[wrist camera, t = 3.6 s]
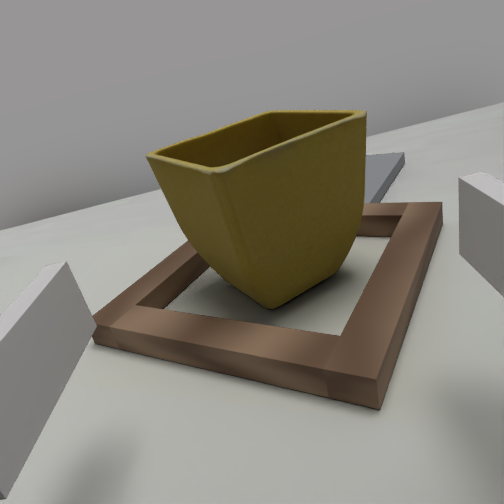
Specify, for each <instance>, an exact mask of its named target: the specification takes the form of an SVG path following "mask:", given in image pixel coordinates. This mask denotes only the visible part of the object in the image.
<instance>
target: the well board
mask: <svg viewBox="0 0 504 504" xmlns="http://www.w3.org/2000/svg"><path fill="white" fill-rule="evenodd" d="M442 224H443V213H442V202H409V203H364V208H363V213H362V218H361V222H360V226H359V229H358V232H357V235H356V236H392V237H391V239H390V241H389V242H388V244H387V246H386V248H385V250H384V252H383V254H382V256H381V258H380V260H379V262H378V264H377V266H376V268H375V270H374V272H373V274H372V275H371V277H370V279H369V281H368V283H367V285H366V287H365V289H364V291H363V293H362V295H361V297H360V299H359V301H358V303H357V305H356V307H355V308H354V310H353V312H352V314H351V316H350V318H349V320H348V322H347V324H346V326H345V328H344V330H343V332H342V334H341V336H337V335H330V334H323V333H317V332H310V331H303V330H297V329H290V328H284V327H277V326H270V325H264V324H257V323H250V322H244V321H237V320H230V319H224V318H217V317H211V316H204V315H197V314H191V313H184V312H177V311H171V310H164V309H163V308H164V307H166V306H167V305H168V304H169V303H170V302H171V301H172V300H173V299H174V298H175V297H176V296H178V295H179V294H180V293H181V292H182V291H183V290H184V289H185V288H186V287H187V286H188V285H189V284H191V283H192V282H193V281H194V280H195V279H196V278H197V277H198V276H199V275H200V274H201V273H202V272H204V271H205V270H206V269H207V268H208V267H209V266H210V265H209V264H208V263H207V262H206V261H205V260H204V259H203V258H202V257H201V256H200V255H199V253H198V252H197V251H196V250H195V249H194V247H193V246H192V245H191V243H190V242H189V240H188V241H187V242H186V243H184V244H183V245H182V246H181V247H179V248H178V249H177V250H176V251H174V252H173V253H172V254H170V255H169V256H168V257H167V258H165V259H164V260H163V261H162V262H160V263H159V264H158V265H156V266H155V267H154V268H153V269H151V270H150V271H149V272H148V273H146V274H145V275H144V276H143V277H141V278H140V279H139V280H137V281H136V282H135V283H134V284H132V285H131V286H130V287H129V288H127V289H126V290H125V291H124V292H122V293H121V294H120V295H118V296H117V297H116V298H115V299H113V300H112V301H111V302H110V303H108V304H107V305H106V306H104V307H103V308H102V309H101V310H99V311H98V312H97V313H96V314H94V315H93V316H92V317H93V319H94V321H95V323H96V325H97V327H96V329H95V331H94V333H93V335H92V338H93V340H94V342H95V343H96V344H100V345H104V346H109V347H113V348H117V349H121V350H126V351H130V352H134V353H139V354H143V355H147V356H152V357H156V358H160V359H164V360H169V361H173V362H177V363H182V364H186V365H190V366H195V367H199V368H203V369H207V370H212V371H216V372H220V373H225V374H229V375H233V376H238V377H242V378H246V379H250V380H255V381H259V382H263V383H268V384H272V385H276V386H281V387H285V388H289V389H293V390H298V391H302V392H306V393H311V394H315V395H319V396H324V397H328V398H332V399H336V400H341V401H345V402H349V403H354V404H358V405H362V406H367V407H371V408H375V409H379V410H380V408H381V405H382V402H383V399H384V396H385V393H386V390H387V387H388V384H389V381H390V378H391V375H392V372H393V370H394V367H395V364H396V361H397V358H398V355H399V352H400V349H401V346H402V343H403V340H404V337H405V334H406V331H407V328H408V325H409V322H410V319H411V316H412V313H413V310H414V307H415V304H416V301H417V298H418V295H419V292H420V290H421V287H422V284H423V281H424V278H425V275H426V272H427V269H428V266H429V263H430V260H431V257H432V254H433V251H434V248H435V245H436V242H437V239H438V236H439V233H440V230H441V227H442Z"/></svg>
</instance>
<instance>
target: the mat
mask: <svg viewBox="0 0 504 504" xmlns="http://www.w3.org/2000/svg"><path fill="white" fill-rule="evenodd" d="M404 163H405V157H404V152H402V153H389V154H376V155H366V167H365V197H364V203H379V202H380V201H381V199H382V198H383V196H384V194H385V193H386V191H387V190H388V188H389V187H390V185H391V184H392V182H393V181H394V179H395V177H396V176H397V174H398V173H399V171H400V170H401V168H402V167H403V165H404Z"/></svg>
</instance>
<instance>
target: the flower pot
mask: <svg viewBox="0 0 504 504" xmlns="http://www.w3.org/2000/svg"><path fill="white" fill-rule="evenodd" d="M366 116H367V113H366V111H357V110H318V111H317V110H275V111H267V112H264V113H261V114H258V115H255V116H252V117H249V118H247V119H244V120H242V121H239V122H236V123H233V124H230V125H227V126H224V127H222V128H220V129H217V130H214V131H211V132H209V133H206V134H203V135H200V136H197V137H193V138H190V139H187V140H184V141H181V142H178V143H175V144H173V145H170V146H167V147H164V148H161V149H159V150H156V151H153V152H151V153H148V154H147V155H146V158H147V160H148V162H149V164H150V166H151V168H152V170H153V172H154V174H155V176H156V179H157V181H158V183H159V185H160V187H161V189H162V191H163V193H164V195H165V197H166V199H167V201H168V204H169V206H170V208H171V210H172V212H173V214H174V216H175V218H176V220H177V222H178V224H179V226H180V228H181V229H182V231H183V233H184V234H185V236H186V237H187V239H188V240H189V242H190V243H191V245H192V246H193V247H194V249H195V250H196V251H197V252H198V253H199V255H200V256H201V257H202V258H203V259H204V260H205V261H206V262H207V263H208V264H209V265H210V266H211V267H212V268H213V269H214V270H215V271H216V272H217V273H218V274H219V275H220V276H221V277H223V278H224V279H225V280H226V281H227V282H228V283H230V284H231V285H233V286H234V287H236V288H237V289H239V290H240V291H242V292H243V293H245V294H246V295H248V296H249V297H250V298H252V299H253V300H255V301H256V302H258V303H259V304H260V305H262V306H263V307H265V308H268V309H274V308H277V307H279V306H281V305H282V304H284V303H286V302H287V301H289V300H291V299H292V298H294V297H296V296H297V295H299V294H301V293H302V292H304V291H306V290H307V289H309V288H311V287H313V286H314V285H316V284H318V283H320V282H321V281H323V280H325V279H326V278H328V277H330V276H331V275H333V274H335V273H336V272H337V271H338V270H339V268H340V267H341V265H342V263H343V262H344V260H345V258H346V256H347V255H348V253H349V251H350V249H351V247H352V245H353V242H354V240H355V237H356V235H357V232H358V229H359V226H360V222H361V218H362V213H363V208H364V197H365V167H366Z"/></svg>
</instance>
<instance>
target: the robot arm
mask: <svg viewBox="0 0 504 504" xmlns="http://www.w3.org/2000/svg"><path fill="white" fill-rule="evenodd" d="M459 254H460V255H461V256H462V257H463V258H464V259H465V260H466V261H467V262H468V263H469V264H470V265H471V266H472V267H473V268H474V269H475V270H477V271H478V272H479V273H480V274H481V275H482V276H483V277H484V278H485V279H486V280H487V281H488V282H489V283H490V284H491V285H492V286H493V287H494V288H495V289H496V290H497V291H498V292H499V293H500V294H501V295H502V296H503V297H504V183H503V182H501V181H500V180H498V179H496V178H494V177H492V176H490V175H488V174H486V173H485V172H481V173H476V174H471V175H467V176H462V177H459ZM96 327H97V325H96V323H95V321H94V319H93V317H92V315H91V312H90V310H89V308H88V306H87V304H86V302H85V300H84V297H83V295H82V293H81V291H80V289H79V287H78V285H77V282H76V280H75V278H74V276H73V274H72V272H71V270H70V268H69V265H68V263H67V261H65V262H61V263H56V264H51V265H47V266H45V267H44V268H43V269H42V270H41V271H40V272H39V273H38V275H37V276H36V277H35V278H34V279H33V280H32V281H31V282H30V283H29V285H28V286H27V287H26V288H25V289H24V290H23V291H22V292H21V293H20V295H19V296H18V297H17V298H16V299H15V300H14V301H13V302H12V303H11V305H10V306H9V307H8V308H7V309H6V310H5V311H4V312H3V313H2V314H1V316H0V500H3V499H6V498H7V496H8V494H9V492H10V491H11V489H12V487H13V485H14V483H15V481H16V479H17V477H18V475H19V473H20V472H21V470H22V468H23V466H24V464H25V462H26V460H27V458H28V456H29V454H30V453H31V451H32V449H33V447H34V445H35V443H36V441H37V439H38V437H39V435H40V434H41V432H42V430H43V428H44V426H45V424H46V422H47V420H48V418H49V416H50V415H51V413H52V411H53V409H54V407H55V405H56V403H57V401H58V399H59V397H60V396H61V394H62V392H63V390H64V388H65V386H66V384H67V382H68V380H69V378H70V376H71V375H72V373H73V371H74V369H75V367H76V365H77V363H78V361H79V359H80V357H81V356H82V354H83V352H84V350H85V348H86V346H87V344H88V342H89V340H90V338H91V337H92V335H93V333H94V331H95V329H96Z"/></svg>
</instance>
